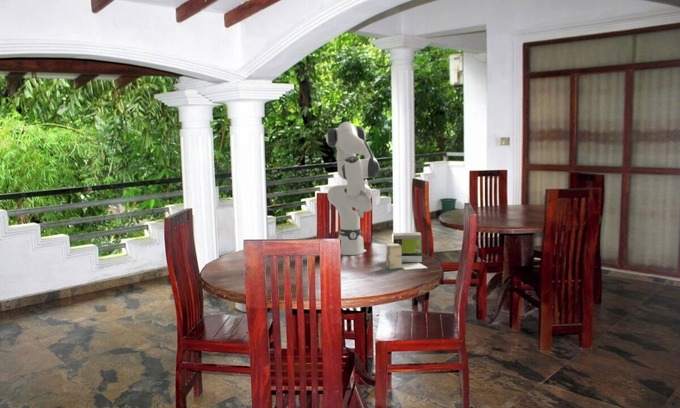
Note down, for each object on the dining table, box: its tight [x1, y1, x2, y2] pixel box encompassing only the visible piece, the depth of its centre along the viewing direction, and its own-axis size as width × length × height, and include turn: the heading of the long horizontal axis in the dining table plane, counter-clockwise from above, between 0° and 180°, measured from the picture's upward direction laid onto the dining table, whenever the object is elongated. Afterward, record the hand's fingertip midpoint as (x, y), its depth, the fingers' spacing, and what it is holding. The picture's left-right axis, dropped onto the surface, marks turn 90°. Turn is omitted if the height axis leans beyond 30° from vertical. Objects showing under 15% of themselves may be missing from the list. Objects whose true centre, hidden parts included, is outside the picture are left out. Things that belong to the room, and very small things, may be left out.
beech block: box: [385, 243, 403, 271], centre depth 300 cm, size 6×6×12 cm
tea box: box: [392, 231, 423, 263], centre depth 316 cm, size 15×10×15 cm, turn 84°
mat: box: [402, 262, 428, 271], centre depth 303 cm, size 11×12×1 cm
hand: (360, 216), depth 293 cm, fingers closed
